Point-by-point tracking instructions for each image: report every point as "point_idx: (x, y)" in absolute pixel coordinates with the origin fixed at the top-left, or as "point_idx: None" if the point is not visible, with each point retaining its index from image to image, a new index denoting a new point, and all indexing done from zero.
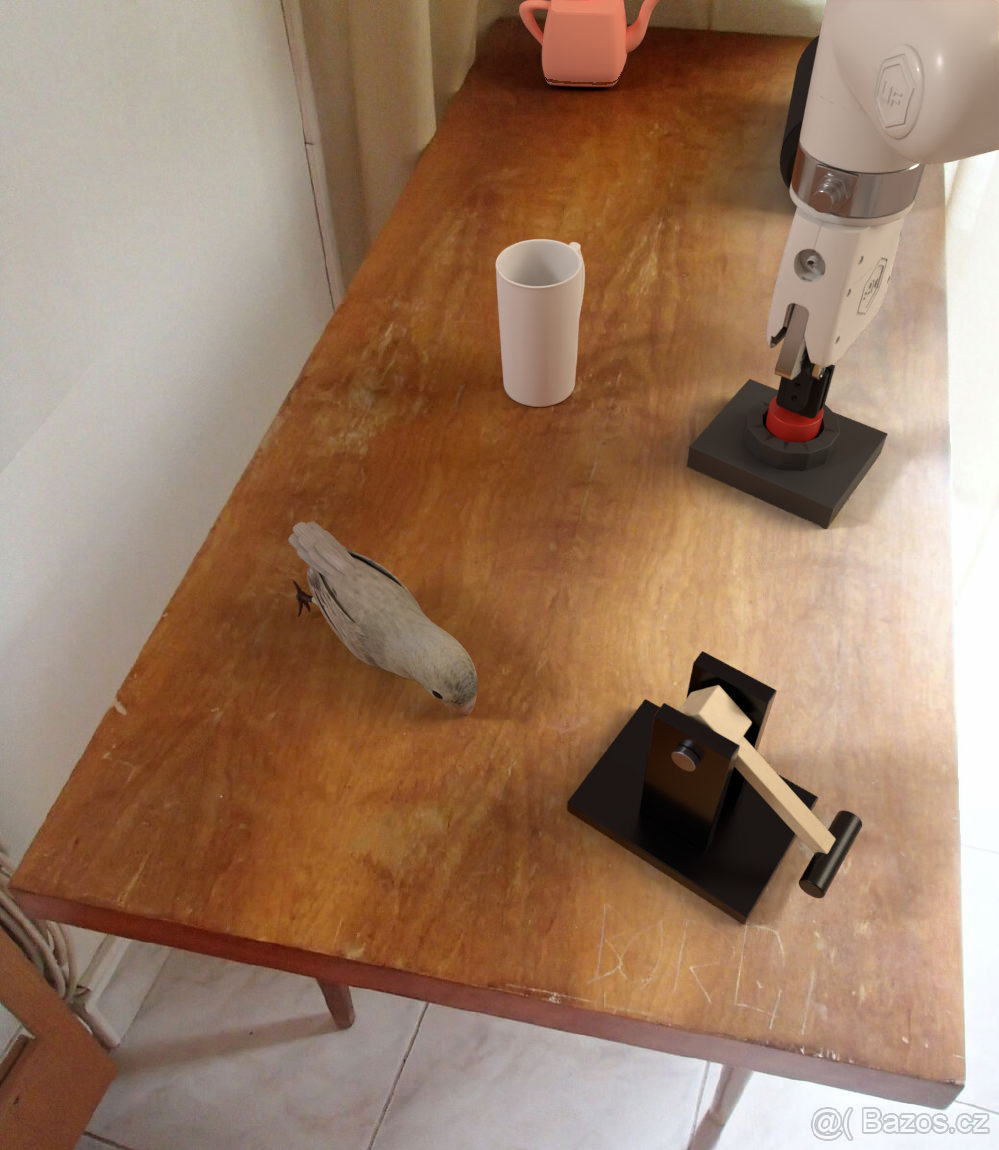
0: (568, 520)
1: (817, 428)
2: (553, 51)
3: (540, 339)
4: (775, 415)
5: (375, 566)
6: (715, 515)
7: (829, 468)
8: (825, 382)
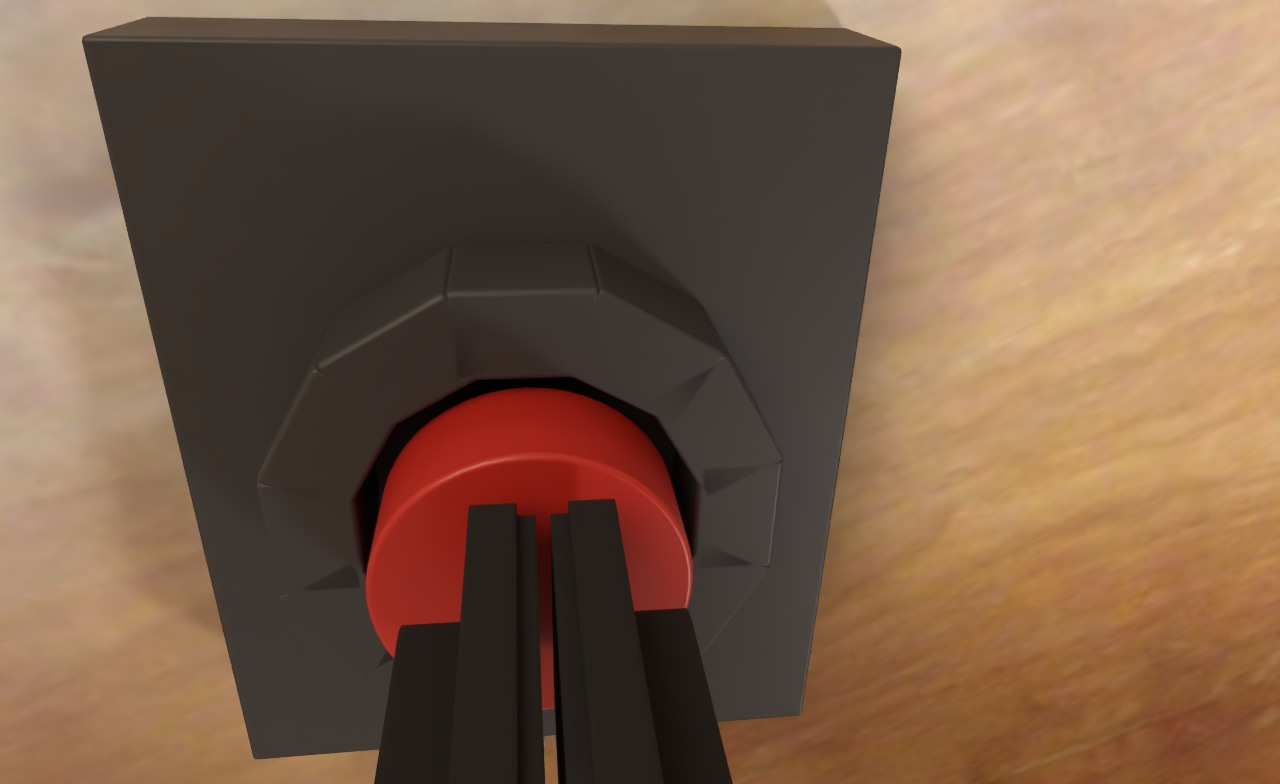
0: (1155, 742)
1: (541, 417)
2: None
3: None
4: None
5: None
6: (964, 445)
7: (611, 204)
8: (623, 725)
